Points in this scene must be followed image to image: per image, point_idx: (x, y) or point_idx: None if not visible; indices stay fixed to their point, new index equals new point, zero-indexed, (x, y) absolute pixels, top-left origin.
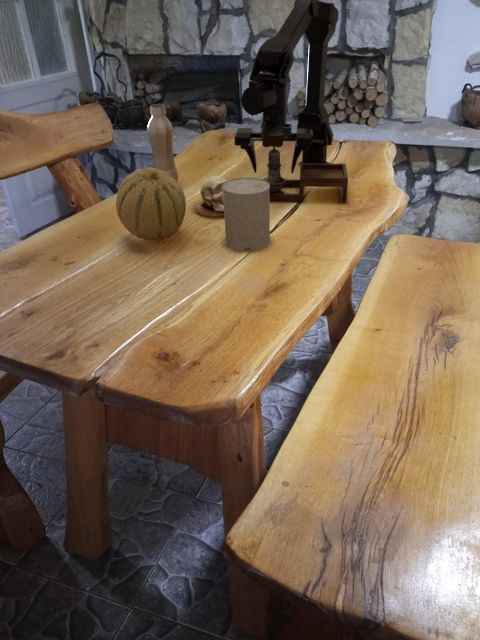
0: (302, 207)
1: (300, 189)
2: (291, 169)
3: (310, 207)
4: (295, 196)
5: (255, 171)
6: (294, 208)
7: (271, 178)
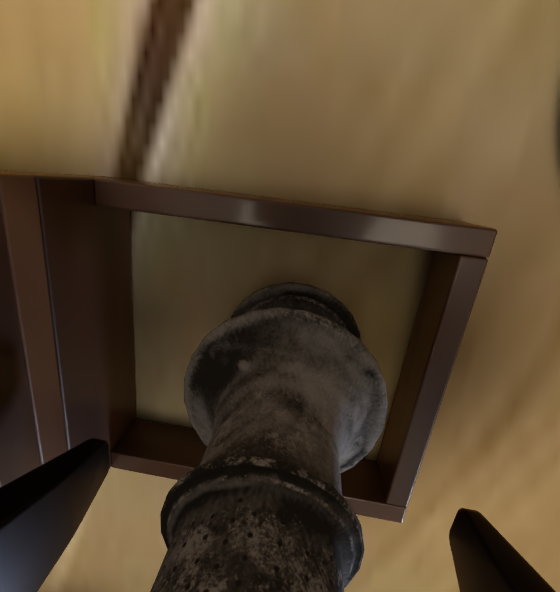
0: (103, 78)
1: (50, 175)
2: (80, 464)
3: (47, 75)
4: (131, 181)
5: (475, 518)
6: (160, 58)
7: (309, 380)
